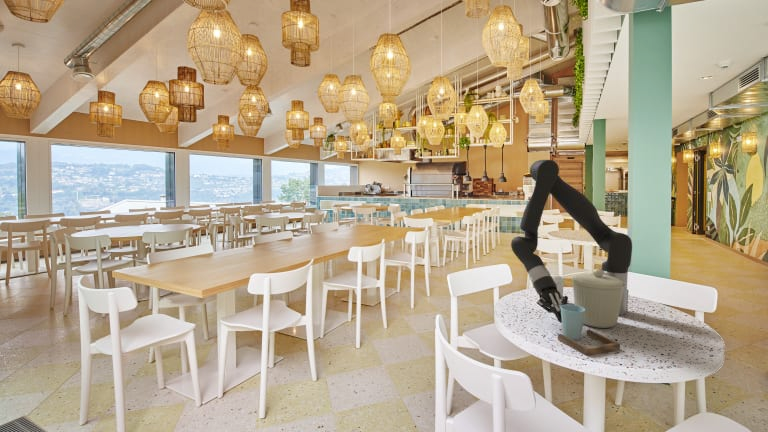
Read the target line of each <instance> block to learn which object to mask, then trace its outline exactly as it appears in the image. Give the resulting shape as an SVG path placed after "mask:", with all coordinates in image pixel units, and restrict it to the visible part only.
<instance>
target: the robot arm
mask: <svg viewBox="0 0 768 432" xmlns="http://www.w3.org/2000/svg"><path fill="white" fill-rule="evenodd" d="M529 167H530V168H529V175H530V177H531V178H532V180H533V181H534V182H535V183H534V184H535V185H534V189H533V191H532V194H531V197H530V198H529V201H528V202H527V204H526V206H525V209H524V211H523V214H522V217H521V221H520V225H519V228H520V230H522V231H523V232H524V236H515V237H513V239H512V240H511V243H510V247H511V251H512V252H513V253H514V255H515V256H516V258H518V260H519V261H520V262H521V263H522V264H523V266H524V268H525V270H526V272H527V274H528V277H529V280H530V282H531V283H532V287H534V290H535V292H536V293H537V295H538V296H539V299H538V300H537V301H536V304H537V305H538V306H539V307H541V308H542V309H544V310H545V311H546V312H547V313H549V314H551V313H552V314H554V315H555V318H556V320H557V321H558V322H559V323H560V324H562V319H561V305H566V304H568V300H569V297H568V296H567V295H565V296H564V295H563V296H562V295H561V294H560V292H559V291H558V290H557V286H556V284H555V282H554V280H553V278H552V276H553V275H551V273H550V271H549V270H548V268H547V267H546V265H545V264H544V262H543V260H542V258H541V257H540V255H537V254H536V253H535V252H536V250H537V248H538V246H539V245H538V243H539V232H538V231H539V227H540V223H541V219H542V216H543V213H544V210H545V206H546V203H547V201H548V199H549V196H550V195H551V196H552V197H553V199H555V201H556V202H557V203H558V204H559V205H560V206H561V207H562V209H564V210H565V212H566V213H567V214H568V215H569V216H570V217H571V218H572V219H573V220H575V222H577V224H578V225H580V227H582V228H583V230H585V231H587V233H588V234H589V235H590V236H591V238H592V239H593V240H594V241H595V243H596V244H597V245H598V246H599V248H600V249H601V250H602V251H603V252H605V253H607V258H606V259H607V260H606V261H603V262H602V263H601V270H602V271H603V275H608V276H612V277H615V278H618V279H620V280H621V281H623V282H624V283H625V284H626V287H624V289H623V295H622V300H621V306H620V311H619V316H622V315H626V313H628V311H629V310H628V308H629V307H628V306H629V289H628V274H629V273H628V272H629V268H630V266H631V262H632V255H633V254H632V253H633V240H632V239H631V237H630V236H629V235H627V234H625V233H621V232H619V231H618V232H617V231H615V230H613V229H612V228H610V227H609V226H608V225H607V224H606V223H605V222H604V221H603V220H602V219H601V217H600V215H599V213H598V210H597V208H596V206H595V205H594V204H593V203H592V201H590V200H589V198H588V197H586V195H584V194H583V192H581V191H579V189H576V188H575V187H573V186H572V185H570V184H568V183H567V182H566V181H564V179H562V178H561V177H560V176H559V173H560V167H559V165H558V163H557V162H556V161H555V160H552V159H539V160H536V161H534V162H533V163H532V164H531V165H530V166H529Z"/></svg>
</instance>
